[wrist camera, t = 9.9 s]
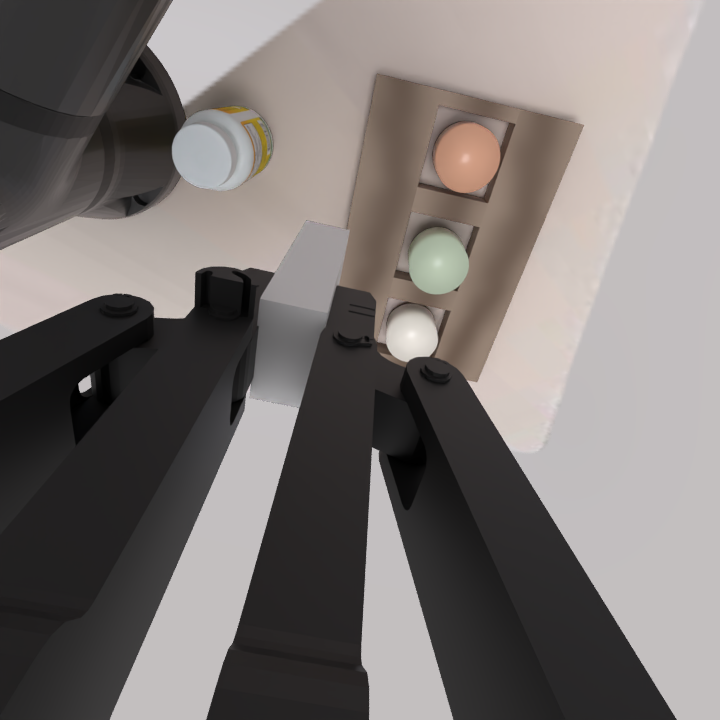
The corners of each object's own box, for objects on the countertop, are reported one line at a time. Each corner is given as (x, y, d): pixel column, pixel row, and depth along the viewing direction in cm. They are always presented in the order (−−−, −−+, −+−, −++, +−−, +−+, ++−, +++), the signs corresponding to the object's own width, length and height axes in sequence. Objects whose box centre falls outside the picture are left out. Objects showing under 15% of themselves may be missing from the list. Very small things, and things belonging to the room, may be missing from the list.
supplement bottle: (286, 134, 38) (257, 149, 30) (253, 188, 41) (219, 216, 32) (229, 89, 37) (182, 92, 29) (198, 148, 39) (148, 166, 31)
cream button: (381, 341, 47) (381, 356, 44) (393, 298, 45) (393, 312, 42) (427, 351, 47) (429, 366, 45) (441, 309, 45) (444, 323, 42)
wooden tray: (325, 340, 48) (323, 349, 46) (377, 73, 36) (377, 73, 34) (474, 371, 49) (477, 382, 47) (575, 123, 37) (584, 125, 35)
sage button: (401, 274, 41) (402, 287, 39) (416, 221, 39) (418, 231, 36) (453, 286, 42) (458, 299, 39) (471, 234, 39) (477, 245, 37)
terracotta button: (425, 178, 39) (428, 185, 36) (442, 114, 36) (446, 117, 34) (480, 191, 39) (487, 199, 36) (501, 129, 37) (510, 132, 34)
